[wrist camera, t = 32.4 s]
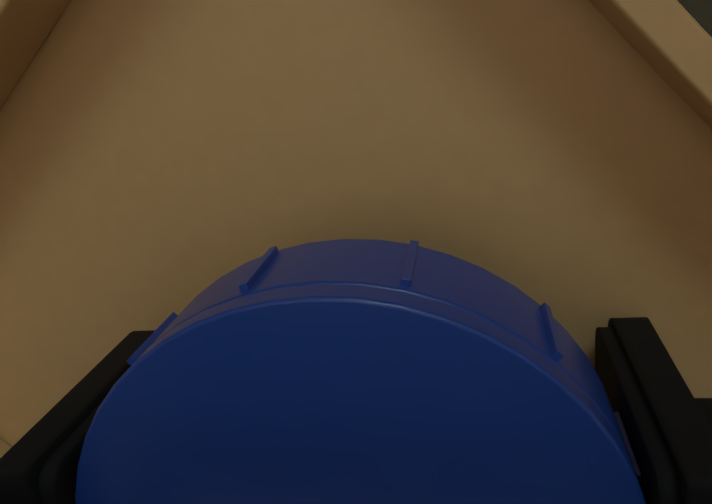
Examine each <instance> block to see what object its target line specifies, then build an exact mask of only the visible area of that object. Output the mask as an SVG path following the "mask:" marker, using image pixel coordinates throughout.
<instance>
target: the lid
mask: <svg viewBox="0 0 712 504" xmlns="http://www.w3.org/2000/svg"><path fill="white" fill-rule="evenodd" d="M418 245H419V241H414V240H410V244H406V243H399V242H392V241H385V240H373V239H338V240H329V241H320V242H311V243H305V244H301V245H297V246H293V247H289V248H285V249H281V250H278V248H277V246H274V247H271V248H269V249H268V250H267V252H266V253H265V254H264V255H263V256H261V257H259V258H256V259H254V260H251V261H249V262H246V263H245V264H243V265H241V266H239V267H237V268H236V269H234V270H232V271H230V272H229V273H227V274H225V275H223V276H222V277H220V278H219V279H217V280H216V281H215V282H213V283H212V284H211V285H210V286H208V287H207V288H206V289H205V290H203V291H202V292H201V293H199V294H198V295H197V296H196V297H195V298H194V299H193V300H192V301H191V302H190V303H189V304H188V305H187V306H186V308H185V309H184V310H183V311H182V312H181V313H180V314H179V315H177V314H175V313H174V312H173V313H172V314H171V315H170V316H169V317H168V318H167V319H166V320H165V321H164V322H163V323H162V324H161V325H160V326H159V327H158V328H157V329H156V330H155V331H154V332H153V334H152V335H151V336H150V337H149V338H148V339H147V340H146V341H145V342H144V343H143V344H142V345H141V346H140V347H139V348H138V349H137V350H136V351H135V352H134V353H133V354H132V355H131V357H130V358H129V359H128V360H127V363H128V364H130V365H131V367H130V368H129V369H128V370H127V371H126V372H125V373H124V374H123V375H122V376H121V377H120V378H119V379H118V381H117V382H116V383H115V384H114V385H113V387H112V388H111V390H110V391H109V393H108V394H107V396H106V397H105V399H104V400H103V402H102V403H101V405H100V406H99V408H98V409H97V412H96V414H95V416H94V418H93V420H92V423H91V425H90V427H89V429H88V432H87V434H86V436H85V440H84V444H83V448H82V451H81V455H80V459H79V463H78V469H77V480H76V492H75V501H76V504H647V503H646V501H645V498H644V495H643V492H642V489H641V487H640V484H639V483H641V472H640V470H639V467H638V464H637V461H636V459H635V456H634V453H633V451H632V448H631V445H630V442H629V440H628V437H627V434H626V431H625V429H624V426H623V423H622V420H621V418H620V415H619V412H613V409H612V407H611V404H610V401H609V399H608V396H607V393H606V391H605V388H604V386H603V383H602V382H601V380H600V378H599V376H598V375H597V373H596V371H595V369H594V368H593V366H592V364H591V362H590V361H589V359H588V357H587V356H586V354H585V353H584V352H583V351H582V349H581V348H580V347H579V345H578V344H577V343H576V342H575V340H574V339H573V338H572V336H571V335H570V334H569V333H568V331H567V330H566V329H565V328H564V327H563V326H562V325H561V324H560V323H559V322H558V321H557V320H556V319H555V318H554V317H553V315H552V311H551V308H550V306H549V305H547V304H546V303H545V302H544V303H543V304H542V305H540V304H538V303H537V302H536V301H534V300H533V299H531V298H530V297H529V296H527V295H526V294H525V293H523V292H522V291H521V290H519V289H518V288H517V287H515V286H514V285H512V284H510V283H509V282H507V281H505V280H503V279H502V278H500V277H498V276H496V275H494V274H493V273H491V272H489V271H487V270H486V269H484V268H482V267H479V266H477V265H474V264H472V263H469V262H467V261H465V260H462V259H460V258H457V257H455V256H452V255H450V254H446V253H443V252H439V251H435V250H432V249H428V248H424V247H421V246H418Z"/></svg>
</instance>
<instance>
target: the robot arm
mask: <svg viewBox="0 0 712 504" xmlns="http://www.w3.org/2000/svg"><path fill="white" fill-rule="evenodd" d="M154 331H155V330H146V331H132V332H131V333H129V334H128V335H127V336H126V337H125V338H124V339H123V340H122V341H121V342H120V343H119V344H118V345H117V346H116V347H115V348H114V349H113V350H112V351H111V352H110V353H108V354H107V355H106V356H105V357H104V358H103V359H102V360H101V361H100V362H99V363H98V364H97V365H96V366H95V367H94V368H93V369H92V370H91V371H90V372H89V373H88V374H87V375H86V376H85V377H84V378H83V379H82V380H81V381H80V382H79V383H78V384H76V385H75V386H74V387H73V388H72V389H71V390H70V391H69V392H68V393H67V394H66V395H65V396H64V397H63V398H62V399H61V400H60V401H59V402H58V403H57V404H56V405H55V406H54V407H53V408H52V409H51V410H50V411H49V412H48V413H47V414H46V415H44V416H43V417H42V418H41V419H40V420H39V421H38V422H37V423H36V424H35V425H34V426H33V427H32V428H31V429H30V430H29V431H28V432H27V433H26V434H25V435H24V436H23V437H22V438H21V439H20V440H19V441H18V442H17V443H16V444H15V445H14V446H13V447H11V448H10V449H9V450H8V451H7V452H6V453H5V454H4V455H3V456H2V457H1V458H0V504H76V501H75V492H76V480H77V469H78V463H79V459H80V455H81V451H82V448H83V444H84V440H85V436H86V434H87V432H88V429H89V427H90V425H91V423H92V420H93V418H94V416H95V414H96V412H97V409H98V408H99V406H100V405H101V403H102V402H103V400H104V399H105V397H106V396H107V394H108V393H109V391H110V390H111V388H112V387H113V385H114V384H115V383H116V382H117V381H118V379H119V378H120V377H121V376H122V375H123V374H124V373H125V372H126V371H127V370H128V369H129V368H130V367H131V365H130V364H128V363H127V360H128V359H129V358H130V357H131V355H132V354H133V353H134V352H135V351H136V350H137V349H138V348H139V347H140V346H141V345H142V344H143V343H144V342H145V341H146V340H147V339H148V338H149V337H150V336H151V335H152V334H153V332H154ZM595 371H596V373H597V375H598V376H599V378H600V380H601V382H602V383H603V386H604V388H605V391H606V393H607V396H608V399H609V401H610V404H611V407H612V409H613V412H619V415H620V418H621V420H622V423H623V426H624V429H625V431H626V434H627V437H628V440H629V442H630V445H631V448H632V451H633V453H634V456H635V459H636V461H637V464H638V467H639V470H640V472H641V483H639V484H640V487H641V489H642V492H643V495H644V498H645V501H646V503H647V504H712V398H694V397H693V395H692V393H691V392H690V390H689V388H688V386H687V385H686V383H685V381H684V379H683V378H682V376H681V374H680V372H679V371H678V369H677V367H676V365H675V364H674V362H673V360H672V358H671V357H670V355H669V353H668V351H667V350H666V348H665V346H664V344H663V343H662V341H661V339H660V337H659V336H658V334H657V332H656V330H655V329H654V327H653V325H652V323H651V322H650V320H649V319H648V317H628V318H610V319H609V321H608V327H597V328H596V332H595Z"/></svg>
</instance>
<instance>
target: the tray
mask: <svg viewBox="0 0 712 504" xmlns="http://www.w3.org/2000/svg"><path fill="white" fill-rule="evenodd" d="M338 239H373V240H385V241H392V242H399V243H406V244H410V240H414V241H419V245H418V246H421V247H424V248H428V249H432V250H435V251H439V252H443V253H446V254H450V255H452V256H455V257H457V258H460V259H462V260H465V261H467V262H469V263H472V264H474V265H477V266H479V267H482V268H484V269H486V270H487V271H489V272H491V273H493V274H494V275H496V276H498V277H500V278H502V279H503V280H505V281H507V282H509V283H510V284H512V285H514V286H515V287H517V288H518V289H519V290H521V291H522V292H523V293H525V294H526V295H527V296H529V297H530V298H531V299H533V300H534V301H536V302H537V303H538V304H540V305H542V304H543V303H544V302H545V303H546V304H547V305H549V306H550V308H551V311H552V315H553V317H554V318H555V319H556V320H557V321H558V322H559V323H560V324H561V325H562V326H563V327H564V328H565V329H566V330H567V331H568V333H569V334H570V335H571V336H572V338H573V339H574V340H575V342H576V343H577V344H578V345H579V347H580V348H581V349H582V351H583V352H584V353H585V354H586V356H587V357H588V359H589V361H590V362H591V364H592V366H593V368H594V369H595V332H596V328H597V327H608V321H609V319H610V318H628V317H648V319H649V320H650V322H651V323H652V325H653V327H654V329H655V330H656V332H657V334H658V336H659V337H660V339H661V341H662V343H663V344H664V346H665V348H666V350H667V351H668V353H669V355H670V357H671V358H672V360H673V362H674V364H675V365H676V367H677V369H678V371H679V372H680V374H681V376H682V378H683V379H684V381H685V383H686V385H687V386H688V388H689V390H690V392H691V393H692V395H693V397H694V398H712V37H711V36H710V35H709V34H708V33H707V32H706V31H705V30H704V29H703V28H702V27H701V26H700V24H699V23H698V22H697V21H696V20H695V19H694V18H693V17H692V16H691V15H690V14H689V13H688V12H687V11H686V9H685V8H684V7H683V6H682V5H681V4H680V3H679V2H678V1H677V0H0V458H1V457H2V456H3V455H4V454H5V453H6V452H7V451H8V450H9V449H10V448H11V447H13V446H14V445H15V444H16V443H17V442H18V441H19V440H20V439H21V438H22V437H23V436H24V435H25V434H26V433H27V432H28V431H29V430H30V429H31V428H32V427H33V426H34V425H35V424H36V423H37V422H38V421H39V420H40V419H41V418H42V417H43V416H44V415H46V414H47V413H48V412H49V411H50V410H51V409H52V408H53V407H54V406H55V405H56V404H57V403H58V402H59V401H60V400H61V399H62V398H63V397H64V396H65V395H66V394H67V393H68V392H69V391H70V390H71V389H72V388H73V387H74V386H75V385H76V384H78V383H79V382H80V381H81V380H82V379H83V378H84V377H85V376H86V375H87V374H88V373H89V372H90V371H91V370H92V369H93V368H94V367H95V366H96V365H97V364H98V363H99V362H100V361H101V360H102V359H103V358H104V357H105V356H106V355H107V354H108V353H110V352H111V351H112V350H113V349H114V348H115V347H116V346H117V345H118V344H119V343H120V342H121V341H122V340H123V339H124V338H125V337H126V336H127V335H128V334H129V333H131V332H132V331H146V330H156V329H157V328H158V327H159V326H160V325H161V324H162V323H163V322H164V321H165V320H166V319H167V318H168V317H169V316H170V315H171V314H172V313H173V312H174V313H175V314H177V315H179V314H180V313H181V312H182V311H183V310H184V309H185V308H186V306H187V305H188V304H189V303H190V302H191V301H192V300H193V299H194V298H195V297H196V296H197V295H198V294H199V293H201V292H202V291H203V290H205V289H206V288H207V287H208V286H210V285H211V284H212V283H213V282H215V281H216V280H217V279H219V278H220V277H222V276H223V275H225V274H227V273H229V272H230V271H232V270H234V269H236V268H237V267H239V266H241V265H243V264H245V263H246V262H249V261H251V260H254V259H256V258H259V257H261V256H263V255H264V254H265V253H266V252H267V250H268V249H269V248H271V247H274V246H277V248H278V250H281V249H285V248H289V247H293V246H297V245H301V244H305V243H311V242H320V241H329V240H338Z"/></svg>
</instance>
